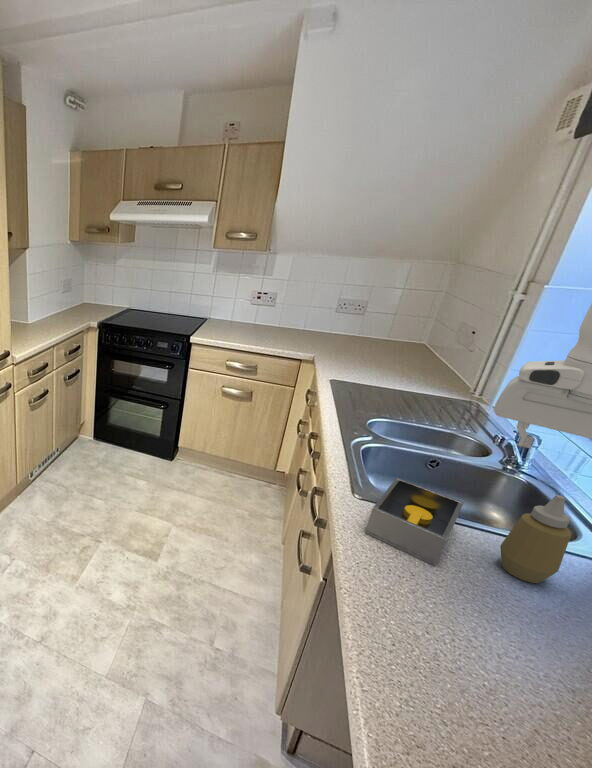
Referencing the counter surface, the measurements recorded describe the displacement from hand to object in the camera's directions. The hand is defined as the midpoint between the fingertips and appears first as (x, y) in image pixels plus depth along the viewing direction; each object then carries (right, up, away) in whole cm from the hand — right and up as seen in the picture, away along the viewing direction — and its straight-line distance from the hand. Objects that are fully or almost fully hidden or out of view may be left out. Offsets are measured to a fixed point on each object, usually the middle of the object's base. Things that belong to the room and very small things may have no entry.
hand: (563, 457), depth 69 cm
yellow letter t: (-6, -20, +24) cm, 32 cm away
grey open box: (-6, -21, +24) cm, 32 cm away
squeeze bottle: (+7, -25, +13) cm, 29 cm away
